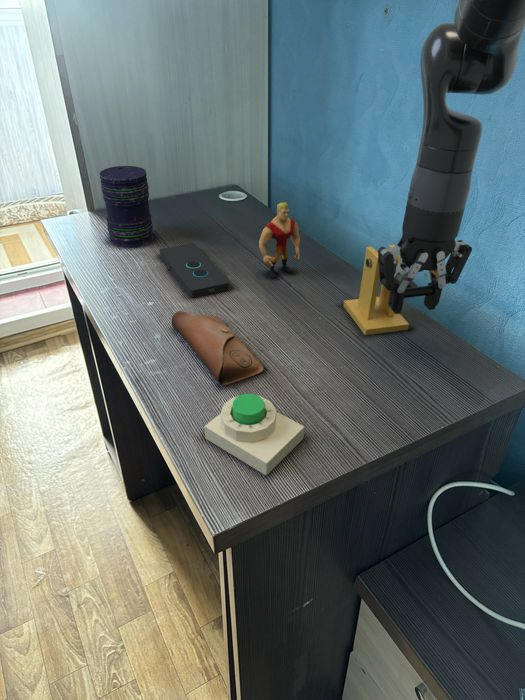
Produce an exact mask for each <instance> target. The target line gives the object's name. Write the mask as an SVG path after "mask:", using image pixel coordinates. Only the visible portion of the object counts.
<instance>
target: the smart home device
mask: <svg viewBox="0 0 525 700" xmlns="http://www.w3.org/2000/svg"><path fill="white" fill-rule="evenodd" d="M159 256H160V257H159V258H160V259H161V260H162V262H163V263H164V264H165V266H166V267H167V268H168V270H169V271H170V272H171V274H172V275H173V276H174V278H175V279H176V280H177V282H178V283H179V284H180V286H181V287H182V288H183V290H184V291H185V292H186V294H187V296H189V297H190V298H192V299H193V298H198V297H203V296H208V295H212V294H216V293H222V292H228V291H229V290H230V280H229V279H228V278H227V277H226V276H225V275H224V274H223V273H222V272H221V270H220V269H218V267H217V266H216V265H215V264H214V262H212V261H211V260H210V258H209V257H208V256H207V255H206V253H204V252H203V251H202V250H201V249H200V248H199V247H198V245H197V244H195V243H193V242H192V243H186V244H180V245H175V246H174V245H173V246H169V247H167V246H166V247H162V248H159Z"/></svg>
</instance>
